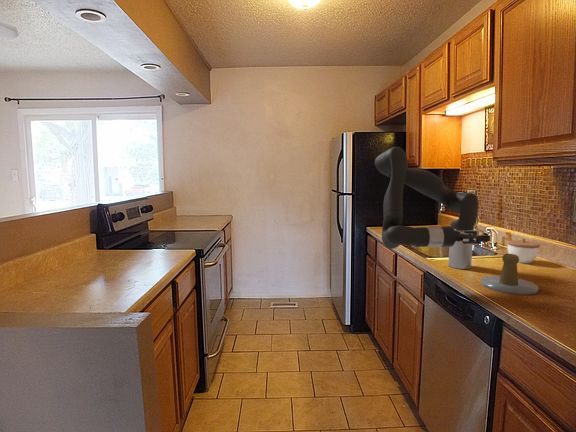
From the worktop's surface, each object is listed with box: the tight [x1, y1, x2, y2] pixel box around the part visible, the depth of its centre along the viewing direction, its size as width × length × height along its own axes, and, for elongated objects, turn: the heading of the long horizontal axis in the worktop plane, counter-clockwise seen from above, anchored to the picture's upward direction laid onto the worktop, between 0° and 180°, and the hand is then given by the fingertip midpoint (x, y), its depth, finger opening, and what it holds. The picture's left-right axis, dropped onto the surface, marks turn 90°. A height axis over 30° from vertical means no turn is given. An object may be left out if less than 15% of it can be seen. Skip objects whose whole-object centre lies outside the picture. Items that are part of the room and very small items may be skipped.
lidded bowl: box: [507, 238, 541, 264], centre depth 164 cm, size 13×13×11 cm
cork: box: [499, 253, 519, 286], centre depth 128 cm, size 6×6×11 cm
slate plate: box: [480, 275, 539, 296], centre depth 129 cm, size 18×18×1 cm
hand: (482, 236), depth 127 cm, fingers open, 8 cm apart
